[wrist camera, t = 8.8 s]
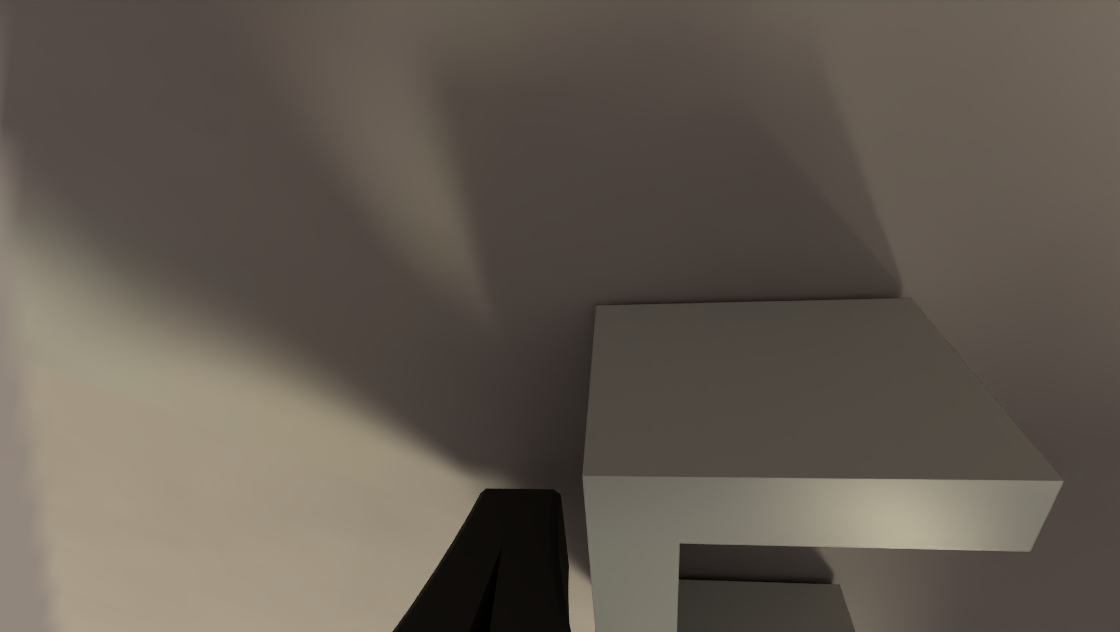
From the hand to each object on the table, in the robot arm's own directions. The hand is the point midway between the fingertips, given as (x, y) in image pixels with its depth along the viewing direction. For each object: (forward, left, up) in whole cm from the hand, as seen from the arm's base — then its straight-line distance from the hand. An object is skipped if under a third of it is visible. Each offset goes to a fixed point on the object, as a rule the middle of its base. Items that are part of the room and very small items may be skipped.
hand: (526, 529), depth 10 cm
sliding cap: (0, -4, -1) cm, 4 cm away
